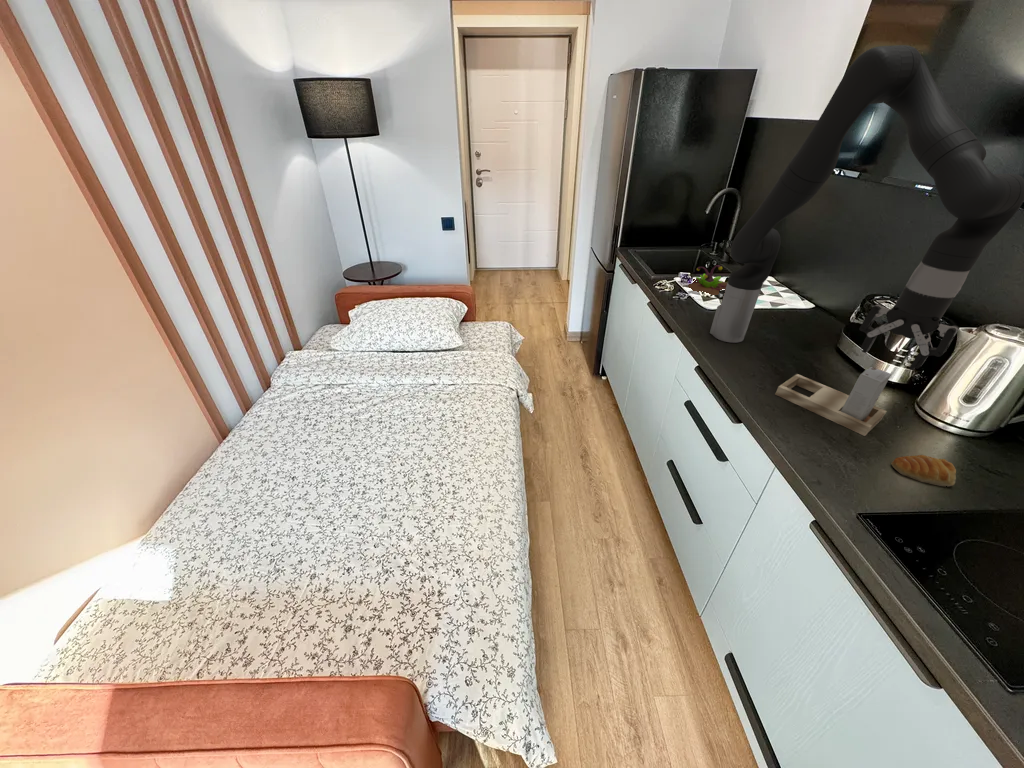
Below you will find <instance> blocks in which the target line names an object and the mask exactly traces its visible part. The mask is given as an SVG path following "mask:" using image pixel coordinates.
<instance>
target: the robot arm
mask: <svg viewBox="0 0 1024 768" xmlns="http://www.w3.org/2000/svg"><path fill="white" fill-rule="evenodd" d="M874 104H875V105H877V104H885V105H886V106H889V108H891V109H892V110H893V111H895V113H897V114H898V115H899V116H900V117H901V119H902V120H903V122H904V125H905V127H906V132H907V138H908V139H907V140H908V144H909V147H910V149H911V152H912V154H913V155H914V157H915V159H916V160H917V162H919V164H920V165H921V166H922V168H923V169H924V170H925V171H926V172H927V173H928V175H929V176H930V177H931V178H932V180H933V181H934V184H935V189H936V191H937V193H938V196H939V199H940V200H941V203H942V205H943V207H944V208H945V209H946V210H947V212H948V213H950V215H951V216H954V217H955V218H957V219H956V220H955V222H954V223H953V224H952V226H951V227H949V228H948V229H946V230H944V231H942V232H940V233H939V234H937V235H936V236H935V238H934V239H933V241H932V242H931V244H930V245H929V247H928V248H927V250H926V252H925V254H924V256H923V257H922V258H921V259H922V260H921V261H920V262H919V264H918V266H917V267H915V269H914V271H913V272H912V274H911V276H910V277H909V278H908V281H907V282H906V285H905V286H904V288H903V289H902V292H901V294H900V295H899V297H898V299H897V300H896V302H895V304H894V305H893V307H892V308H888V307H885V306H884V305H883V304H882V303H877V304H875V305H874V306H873V307H871V308H870V310H869V312H868V313H867V315H866V317H865V318H864V320H863V321H862V323H861V325H860V326H859V328H858V330H859V331H860V332H863V333H864V334H865V338H864V340H863V342H862V344H861V345H860V348H861V350H862V351H861V352H862V353H864V354H866V353H868V352H869V351H870V349H871V348H872V346H873V344H874V342H875V341H876V339H877V337H878V335H880V334H881V335H882V334H884V333H886V332H889V331H890V332H892V334H894V335H898V336H899V335H900V336H903V337H905V338H907V339H908V340H909V339H910V340H911V339H914V340H915V342H916V345H917V346H918V348H919V350H920V352H919V353H918V354H917V356H916V357H915V358H914V360H913V361H912V363H911V364H910V366H909V368H908V369H909V370H911V371H914V370H915V369H920V368H921V367H922V366H923V365H924V363H925V362H926V361H927V360H928V359H927V358H928V357H929V356H935V357H937V358H939V357H942V356H943V355H944V354H945V353H946V352H947V350H948V349H949V347H950V345H951V343H952V341H953V340H954V339H955V336H956V335H957V333H958V332H959V329H960V327H959V326H958V325H954V324H953V325H946V324H942V323H941V319H942V318H943V316H944V315H945V313H946V312H947V310H948V309H949V308H950V305H951V304H952V302H953V301H954V299H955V298H956V296H957V294H958V293H959V292H960V291H961V290H962V287H963V285H964V283H965V282H966V280H967V277H968V275H969V273H970V271H971V270H972V268H973V266H974V265H975V264H976V261H977V260H978V259H979V257H980V256H981V254H982V252H983V251H984V249H985V247H986V246H987V245H988V244H989V243H990V241H991V240H993V239H994V238H995V237H996V236H997V235H998V234H999V232H1001V230H1002V229H1003V228H1004V227H1005V226H1006V225H1007V224H1008V222H1010V220H1011V219H1012V218H1013V217H1014V216H1015V215H1016V213H1017V212H1018V211H1019V209H1020V208H1021V206H1022V205H1023V203H1024V177H1022V176H1021V175H1019V174H1016V173H997V174H996V173H995V174H994V173H993V172H992V171H990V169H989V168H988V167H987V166H986V164H985V162H984V160H985V158H986V157H987V149H986V147H985V146H984V145H983V144H982V143H981V141H980V140H979V138H978V137H976V135H975V134H974V133H973V132H972V131H971V130H970V128H968V127H967V125H966V124H965V123H964V122H963V121H962V120H961V118H959V116H958V115H957V114H956V112H954V110H953V109H952V108H951V106H950V105H949V103H948V102H947V100H946V99H945V97H944V96H943V94H942V91H940V89H939V87H938V85H937V83H936V82H935V80H934V78H933V75H932V74H931V72H930V70H929V66H928V65H927V63H926V61H925V59H924V57H923V56H922V54H921V53H920V51H919V50H918V49H917V48H916V47H913V46H911V45H908V44H907V45H906V44H901V45H880V46H879V45H878V46H875V47H871V48H869V49H867V50H865V51H864V52H862V53H861V54H860V55H859V56H858V57H857V58H856V59H855V60H854V61H853V62H852V63H851V65H850V66H849V67H848V69H847V70H846V72H845V73H844V75H843V77H842V78H841V80H840V82H839V83H838V85H837V87H836V89H835V91H834V92H833V94H832V96H831V97H830V99H829V101H828V103H827V104H826V106H825V108H824V110H823V112H822V113H821V115H820V117H819V118H818V119H817V121H816V123H815V125H814V126H813V127H812V129H811V131H810V132H809V134H808V136H807V137H806V138H805V140H804V142H803V144H801V146H800V148H799V149H798V150H797V152H796V153H795V155H794V156H793V157H792V158H791V160H790V162H789V163H788V165H787V166H786V167H785V168H784V170H783V171H782V174H781V175H780V176H779V178H778V179H777V181H776V183H775V184H774V185H773V187H772V188H771V190H770V192H769V193H768V194H767V195H766V197H765V198H764V200H763V201H762V202H761V204H760V205H759V207H758V208H757V209H756V210H755V212H754V213H753V214H752V215H751V216H750V218H749V219H748V220H747V221H746V222H745V224H744V225H742V228H741V229H740V230H739V231H738V232H737V234H736V235H735V236H734V239H733V241H732V243H731V247H730V256H731V258H732V260H733V261H734V262H736V263H740V264H744V265H743V266H741V267H739V268H737V269H735V270H734V271H733V270H732V272H731V273H730V274H729V276H728V279H727V282H726V283H727V286H726V289H725V293H724V296H723V299H722V302H720V304H719V305H717V307H716V310H715V313H714V316H713V320H712V324H711V327H710V332H709V334H711V335H712V336H713V337H714V338H715V339H718V340H719V341H721V342H725V343H726V342H727V343H732V344H733V343H734V344H735V343H741V342H743V341H744V339H745V337H746V334H747V330H748V329H749V324H750V321H751V319H752V315H753V312H754V311H755V307H756V304H757V303H758V299H759V296H760V293H761V290H762V287H763V284H764V282H765V281H767V279H768V278H769V276H770V275H771V271H772V270H773V267H774V264H775V262H776V259H777V257H778V254H779V251H780V249H781V236H780V233H779V231H778V230H777V229H775V227H776V225H777V224H779V223H780V222H781V221H783V220H784V219H785V218H787V217H789V216H790V215H792V214H793V213H795V212H796V211H797V210H799V209H800V208H802V207H803V206H805V204H807V203H808V202H810V200H812V199H813V198H815V196H816V195H817V193H818V192H819V191H820V189H821V188H822V187H823V186H824V185H825V183H826V182H827V181H828V179H829V178H830V177H831V176H832V174H833V173H834V170H835V168H836V166H837V163H838V160H839V156H840V152H841V147H842V143H843V141H844V139H845V136H846V134H847V133H848V132H849V130H850V129H851V127H852V126H853V125H854V123H855V122H856V120H857V119H858V118H859V117H860V116H861V114H862V113H863V112H864V111H865V110H866V108H868V107H869V105H874ZM883 315H886V316H885V317H886V320H887V322H886V323H884V324H882V325H880V326H877V327H875V328H874V327H872V325H873V324H874V322H875V320H876V319H877V318H879V317H881V316H883ZM937 330H938V331H939V336H940V337H942V339H941V340H940V342H939V343H938V345H937V347H933V344H932V342H931V340H932V338H931V334H930V333H933V332H935V331H937Z"/></svg>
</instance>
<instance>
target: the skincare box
mask: <svg viewBox="0 0 1024 768" xmlns="http://www.w3.org/2000/svg"><path fill="white" fill-rule="evenodd" d="M891 376H892V373H890V372H888V371H884V370H882V369H880V368H876V367H874V366H873V367H872V366H870V367H868V368H867V369H865V370H864V371H863V372H861V373H860V375H858V378H857V380H856V382H855V384H854V386H853V387H852V389H851V391H850V393H849V394H848V395H849V397H848V399H847V401H846V402H845V404H844V406H843V408H842V410H841V412H843V413H845V414H848V415H850V416H852V417H854V418H856V419H859V420H861V421H864V420H865V419H866V418H867V417H868V415H869V414H870V412H871V410H872V408H873V407H874V406H876V403H877V401H878V400H879V398H880V396H881V394H882V392H883V391H884V389H885V387H886V385H887V383H888V381H889V380H890V378H891Z"/></svg>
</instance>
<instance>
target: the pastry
mask: <svg viewBox="0 0 1024 768" xmlns="http://www.w3.org/2000/svg"><path fill="white" fill-rule="evenodd" d="M890 465H891V467H892V468H894V470H896V471H897V472H898V473H899V474H901V475H902V476H905V477H908V478H911V479H914V480H916V481H918V482H921V483H926V484H930V485H934V486H940V487H946V486H947V487H953V486H955V484H956V480H957V475H956V474H957V469H956V467H955V466H954V464H953V463H952V462H951V461H948V460H947V459H946V458H936V457H932V456H928V455H923V454H919V455H906V456H905V455H904V456H900V457H895V459H894V460H893V461H892V462H891V464H890Z"/></svg>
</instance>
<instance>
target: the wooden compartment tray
mask: <svg viewBox="0 0 1024 768" xmlns="http://www.w3.org/2000/svg"><path fill="white" fill-rule="evenodd" d="M795 386H797V387H800V388H802V389H804V390H805V391H806V390H807V391H809V392H811V393H813V394H812V395H810V396H807V395H805V394H802V393H800V392H798V391H796V390H794V389H793V388H795ZM774 395H776V396H778V397H780V398H782V399H784V400H786V401H789V402H790V403H792V404H795V405H797V406H799V407H801V408H803V409H805V410H808V411H810V412H813V413H814V414H816V415H818V416H821V417H823V418H825V419H827V420H830V421H832V422H833V423H835V424H838V425H840V426H842V427H844V428H847V429H849V430H851V431H853V432H856V433H857V434H860V435H861V436H864V437H865V436H867V435H868V434H869V433H870V431H872V430H873V428H875V427H876V426H877V425H878V423H880V422H881V421H882V420H883V418H884V416H885V415H886V413H887V412H888V411H887V410H886V409H883V408H880V407H878V406H876V405H874V407H873V408H872V410H871V412H870V414H869V415H868V417H867V418H866V419H865V420H864V421H861V420H859V419H856V418H854V417H852V416H850V415H848V414H845V413H843V412H841V410H842V408H843V406H844V404H845V402H846V401H847V399H848V397H849V395H850V394H847V393H845V392H842V391H839V390H838V389H835V388H832V387H830V386H828V385H825V384H822V383H820V382H818V381H816V380H814V379H811V378H808V377H805V376H803V375H801V374H798V373H795V374H794V375H793V376H792V377H790V378H789V379H787V380H786V381H785V382H783V383H781V384H780V385H778V386H777V389H776V392H775V393H774Z"/></svg>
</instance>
